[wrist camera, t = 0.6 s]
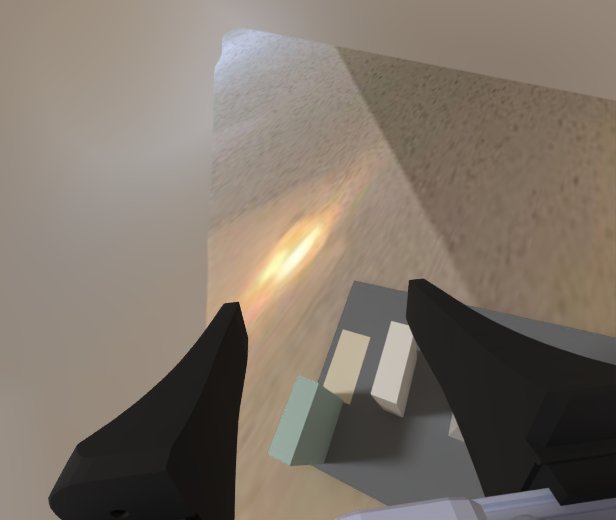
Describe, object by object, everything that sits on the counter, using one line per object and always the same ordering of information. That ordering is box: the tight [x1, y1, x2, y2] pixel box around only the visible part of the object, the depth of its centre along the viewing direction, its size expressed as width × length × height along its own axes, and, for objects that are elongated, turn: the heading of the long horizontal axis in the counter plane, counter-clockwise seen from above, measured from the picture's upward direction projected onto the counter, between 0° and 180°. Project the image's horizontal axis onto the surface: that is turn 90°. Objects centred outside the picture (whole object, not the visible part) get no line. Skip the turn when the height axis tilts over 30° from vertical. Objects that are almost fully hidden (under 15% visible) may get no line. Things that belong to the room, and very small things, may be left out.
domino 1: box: [268, 375, 343, 466], centre depth 23 cm, size 2×5×8 cm, turn 156°
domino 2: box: [371, 321, 417, 418], centre depth 23 cm, size 2×5×8 cm, turn 156°
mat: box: [312, 281, 616, 506], centre depth 24 cm, size 24×17×1 cm
